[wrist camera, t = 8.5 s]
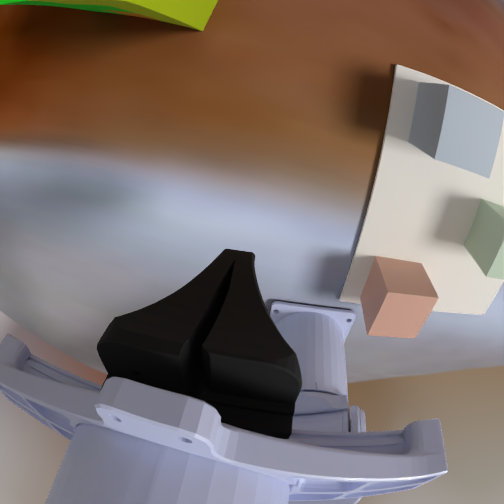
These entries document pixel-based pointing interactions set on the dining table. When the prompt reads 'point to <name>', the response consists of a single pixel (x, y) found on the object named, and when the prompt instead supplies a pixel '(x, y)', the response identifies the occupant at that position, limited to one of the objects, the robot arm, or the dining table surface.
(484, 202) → the sage block
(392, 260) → the terracotta block
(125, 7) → the puzzle toy
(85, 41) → the dining table surface
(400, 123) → the mat
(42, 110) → the dining table surface
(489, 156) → the slate block
